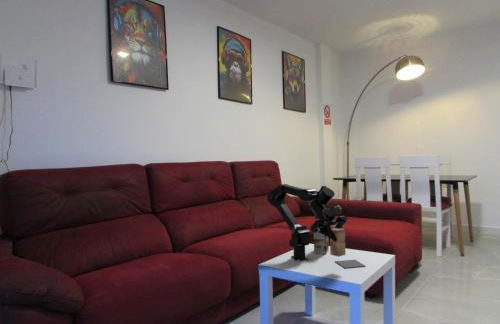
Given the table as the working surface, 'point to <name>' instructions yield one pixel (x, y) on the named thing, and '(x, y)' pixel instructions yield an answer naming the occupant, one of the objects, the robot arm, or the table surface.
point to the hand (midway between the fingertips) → (340, 239)
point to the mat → (350, 264)
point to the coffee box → (320, 243)
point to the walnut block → (338, 242)
